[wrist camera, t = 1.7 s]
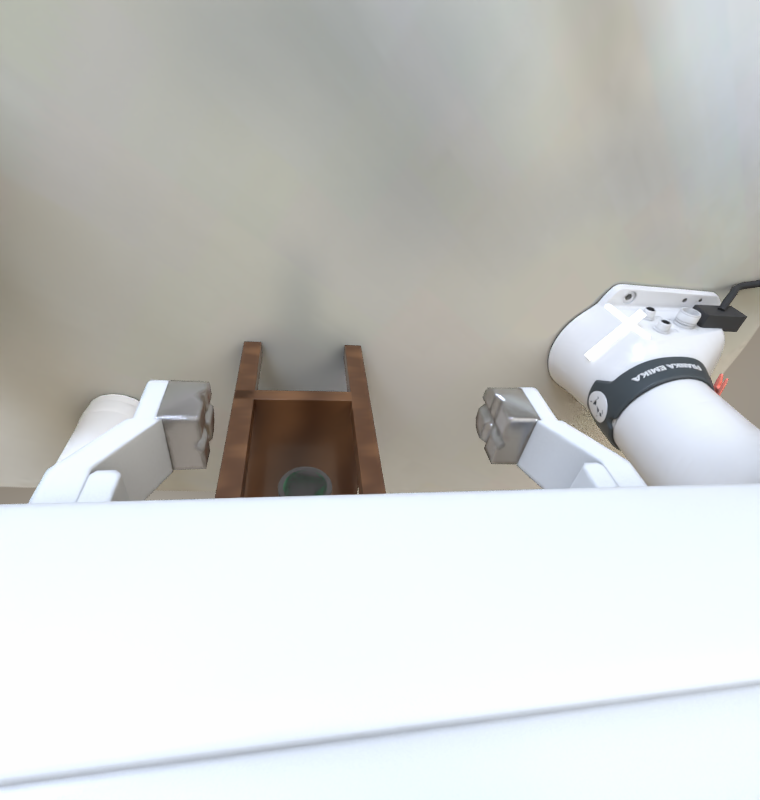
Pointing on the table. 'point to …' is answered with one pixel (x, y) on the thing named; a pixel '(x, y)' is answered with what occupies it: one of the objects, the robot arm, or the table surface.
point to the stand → (299, 433)
